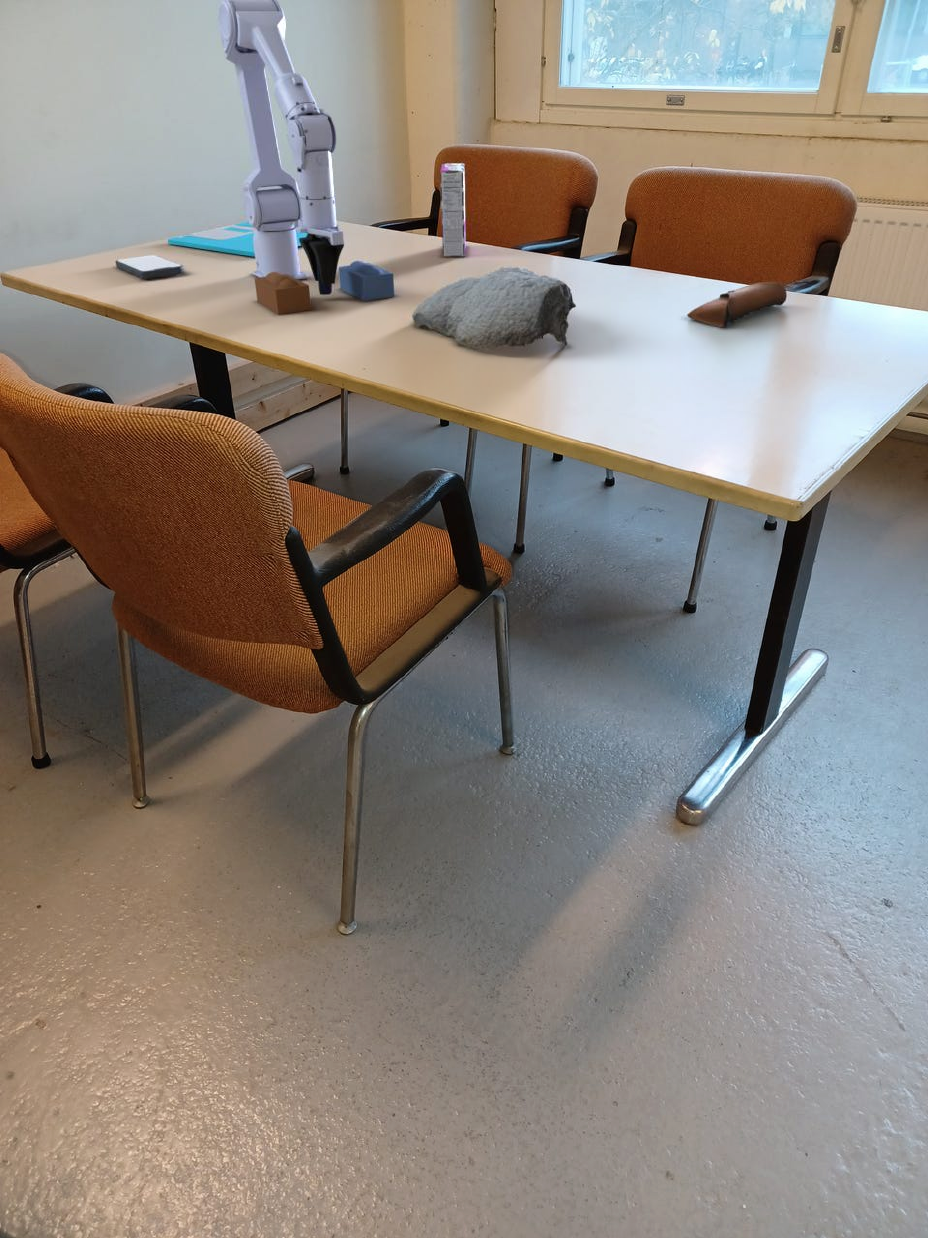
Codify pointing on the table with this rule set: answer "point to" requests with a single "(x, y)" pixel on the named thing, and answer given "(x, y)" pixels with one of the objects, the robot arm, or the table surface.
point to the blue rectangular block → (366, 281)
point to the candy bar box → (453, 209)
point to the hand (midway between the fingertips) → (324, 281)
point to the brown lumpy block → (282, 293)
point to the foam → (499, 309)
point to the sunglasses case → (739, 303)
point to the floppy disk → (225, 239)
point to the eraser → (323, 288)
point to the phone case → (149, 266)
